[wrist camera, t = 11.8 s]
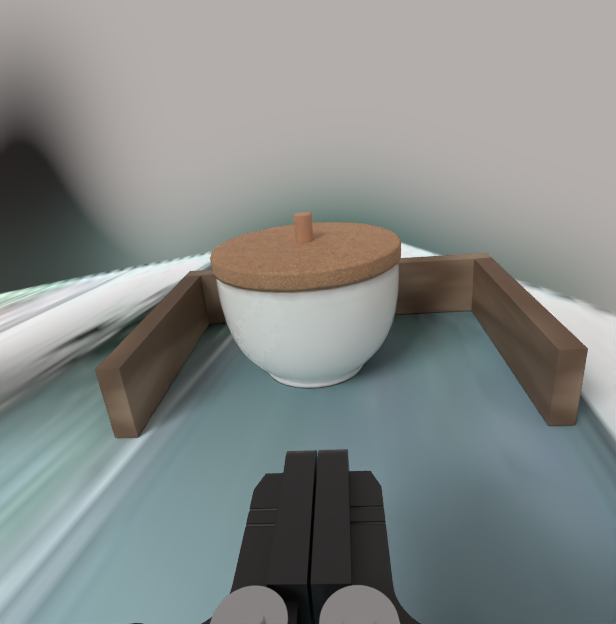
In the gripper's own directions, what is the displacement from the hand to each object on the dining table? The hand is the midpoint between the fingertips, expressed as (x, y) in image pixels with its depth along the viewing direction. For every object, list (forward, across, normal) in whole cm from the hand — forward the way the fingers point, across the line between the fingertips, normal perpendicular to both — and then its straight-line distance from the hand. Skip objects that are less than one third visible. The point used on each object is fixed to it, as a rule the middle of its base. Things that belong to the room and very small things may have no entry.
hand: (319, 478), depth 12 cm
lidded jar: (+17, +1, +6) cm, 18 cm away
